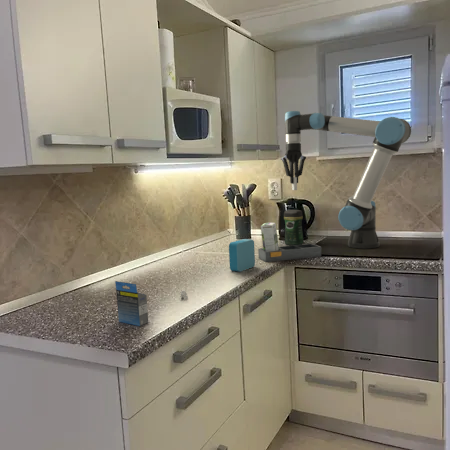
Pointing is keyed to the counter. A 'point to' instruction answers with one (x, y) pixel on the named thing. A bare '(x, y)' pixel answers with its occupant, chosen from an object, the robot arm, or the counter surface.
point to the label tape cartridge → (131, 304)
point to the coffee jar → (293, 227)
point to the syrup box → (269, 237)
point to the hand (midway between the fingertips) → (294, 189)
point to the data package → (241, 255)
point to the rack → (290, 252)
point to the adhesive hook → (183, 294)
